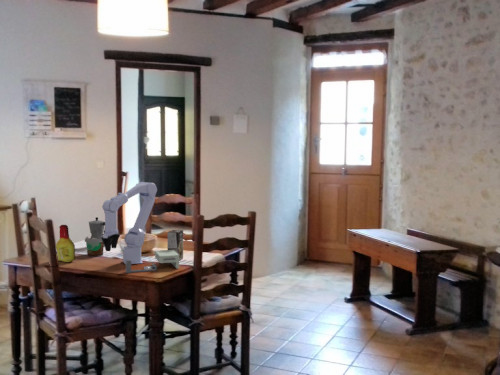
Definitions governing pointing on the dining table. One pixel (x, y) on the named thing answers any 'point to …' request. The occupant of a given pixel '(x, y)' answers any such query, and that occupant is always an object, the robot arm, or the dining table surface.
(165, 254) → the low cabinet
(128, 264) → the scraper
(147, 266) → the steel token
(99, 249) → the food container
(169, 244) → the coffee box
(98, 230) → the coffeepot
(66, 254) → the bottle
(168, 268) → the dining table surface
